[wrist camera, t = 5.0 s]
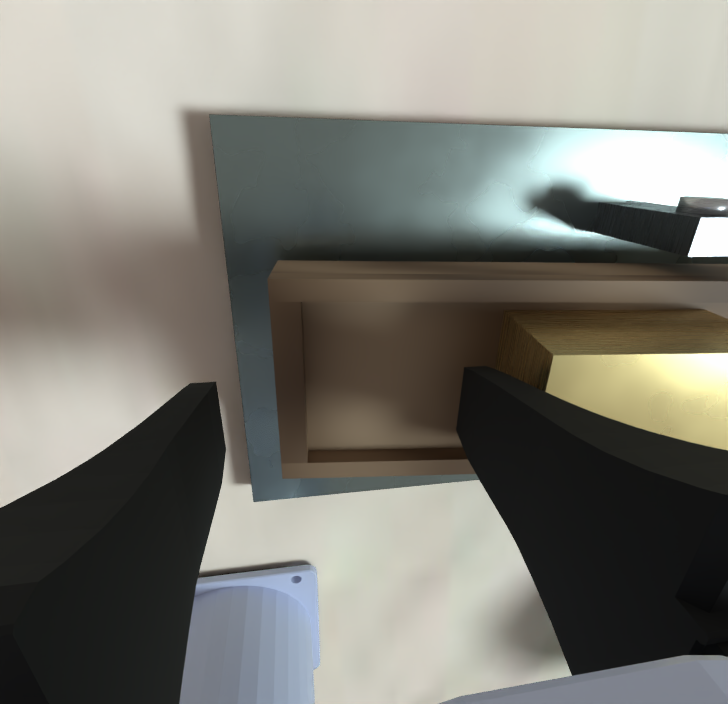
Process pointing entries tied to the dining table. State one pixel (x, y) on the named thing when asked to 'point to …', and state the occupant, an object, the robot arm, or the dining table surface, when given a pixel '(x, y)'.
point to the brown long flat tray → (424, 348)
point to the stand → (442, 220)
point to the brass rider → (627, 366)
